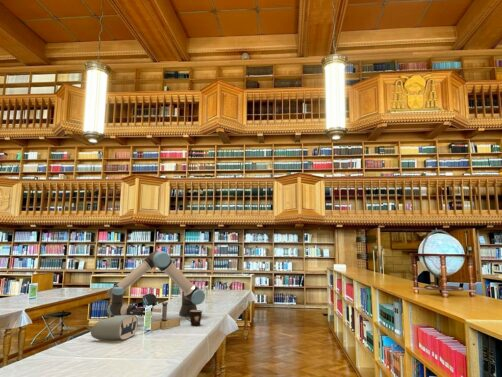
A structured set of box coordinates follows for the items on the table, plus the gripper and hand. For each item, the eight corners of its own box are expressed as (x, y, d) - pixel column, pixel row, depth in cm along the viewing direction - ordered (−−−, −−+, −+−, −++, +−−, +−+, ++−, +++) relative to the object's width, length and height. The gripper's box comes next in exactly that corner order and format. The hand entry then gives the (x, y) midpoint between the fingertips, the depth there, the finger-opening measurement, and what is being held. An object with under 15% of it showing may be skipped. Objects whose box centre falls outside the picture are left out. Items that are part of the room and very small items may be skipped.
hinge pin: (164, 327, 260) (165, 301, 263) (167, 328, 258) (169, 302, 260) (159, 328, 258) (160, 302, 260) (162, 329, 255) (164, 303, 258)
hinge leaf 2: (177, 324, 269) (177, 317, 270) (182, 326, 265) (182, 318, 266) (157, 328, 258) (157, 320, 258) (162, 329, 253) (162, 321, 254)
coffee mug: (202, 324, 272) (203, 309, 274) (200, 326, 264) (200, 312, 266) (187, 323, 274) (187, 309, 275) (183, 326, 265) (184, 311, 267)
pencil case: (119, 343, 217) (119, 319, 219) (89, 342, 221) (90, 319, 223) (137, 334, 238) (138, 313, 240) (110, 334, 242) (111, 313, 244)
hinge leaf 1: (165, 326, 262) (165, 319, 263) (170, 327, 258) (170, 320, 259) (144, 330, 250) (144, 322, 251) (149, 331, 246) (149, 324, 247)
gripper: (137, 313, 276) (164, 314, 272) (118, 319, 252) (147, 321, 248) (138, 302, 277) (164, 303, 273) (119, 307, 253) (148, 309, 249)
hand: (156, 312), depth 260 cm, fingers open, 13 cm apart
